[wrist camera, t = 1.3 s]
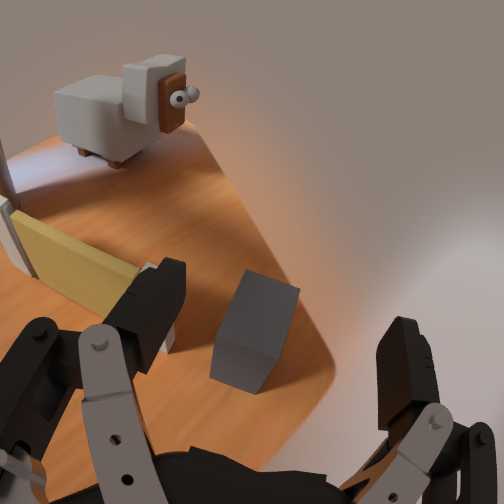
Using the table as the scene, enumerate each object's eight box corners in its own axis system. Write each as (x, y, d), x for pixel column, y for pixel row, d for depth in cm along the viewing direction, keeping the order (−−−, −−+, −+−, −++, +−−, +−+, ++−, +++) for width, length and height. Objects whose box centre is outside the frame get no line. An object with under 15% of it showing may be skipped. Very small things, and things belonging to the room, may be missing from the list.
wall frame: (12, 265, 33) (-21, 198, 24) (20, 255, 34) (-10, 188, 25) (167, 354, 30) (156, 290, 22) (175, 339, 32) (169, 270, 23)
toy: (168, 198, 47) (171, 74, 32) (63, 154, 51) (51, 62, 37) (203, 167, 54) (215, 60, 39) (99, 132, 58) (95, 47, 44)
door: (40, 280, 32) (9, 216, 24) (53, 264, 34) (27, 199, 26) (147, 340, 31) (131, 278, 23) (160, 318, 33) (150, 252, 25)
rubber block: (209, 377, 30) (215, 335, 22) (232, 324, 34) (246, 269, 27) (255, 394, 29) (279, 359, 22) (274, 339, 34) (300, 288, 27)
